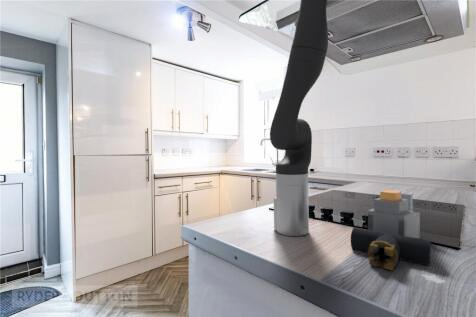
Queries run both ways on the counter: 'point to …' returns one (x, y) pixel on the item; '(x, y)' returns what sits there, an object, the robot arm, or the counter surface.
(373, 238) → the pipe connector
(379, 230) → the housing
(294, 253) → the counter surface
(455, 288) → the counter surface
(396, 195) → the plunger
